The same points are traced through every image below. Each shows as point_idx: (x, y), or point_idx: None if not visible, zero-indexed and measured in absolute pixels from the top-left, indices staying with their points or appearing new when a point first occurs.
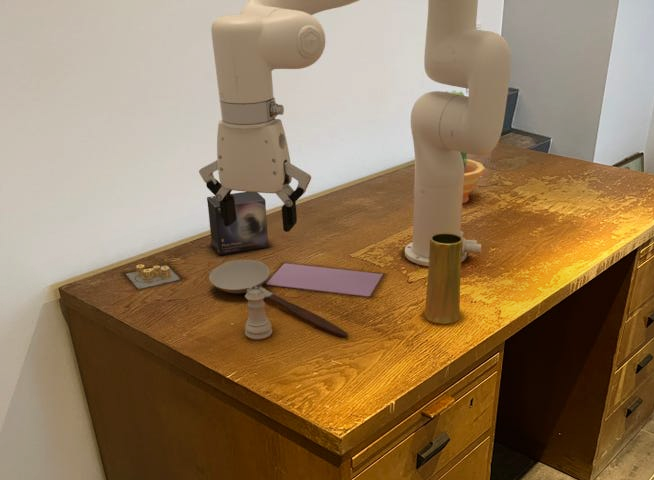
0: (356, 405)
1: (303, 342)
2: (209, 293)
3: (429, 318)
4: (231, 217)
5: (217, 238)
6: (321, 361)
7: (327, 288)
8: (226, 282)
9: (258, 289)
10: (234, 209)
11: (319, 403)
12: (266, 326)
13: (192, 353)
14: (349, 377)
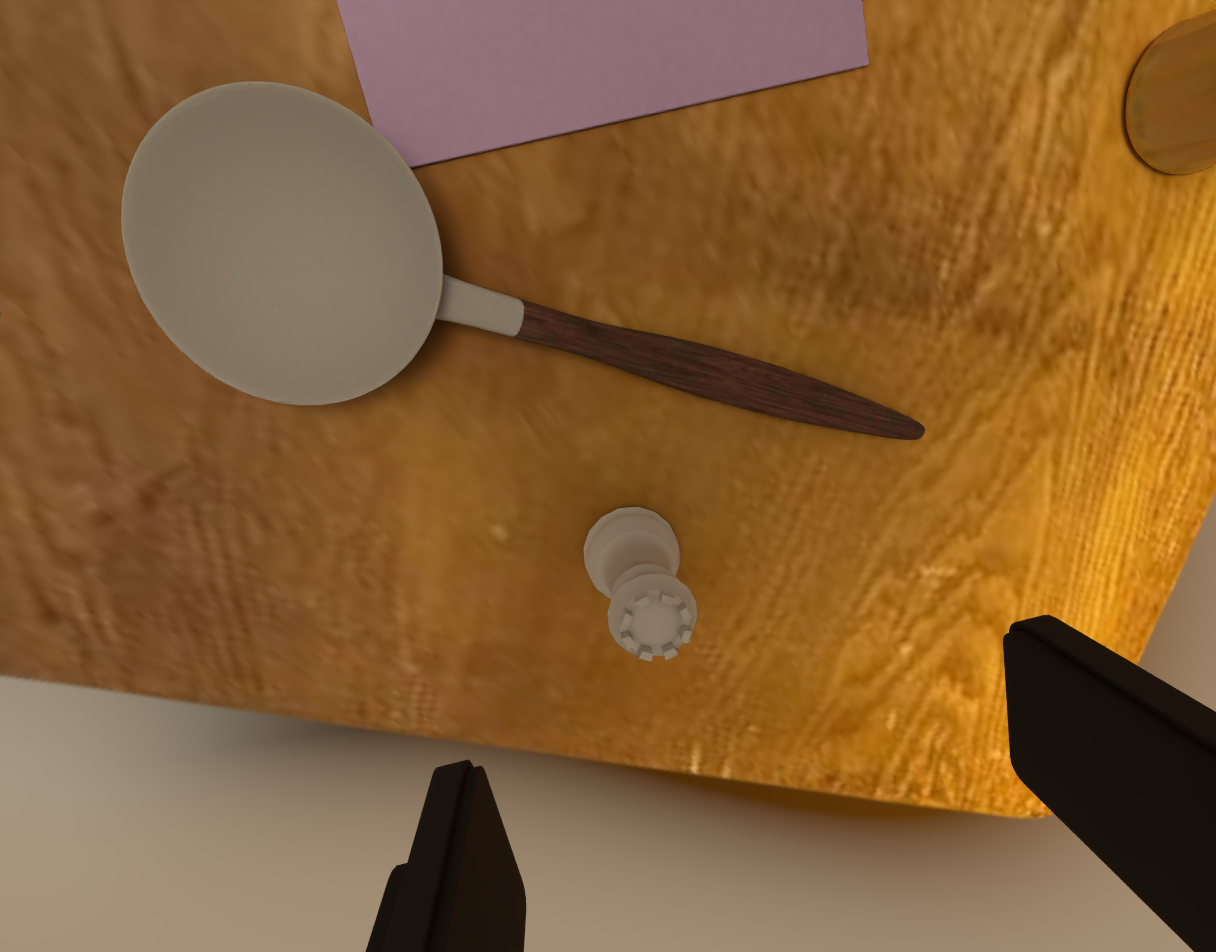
0: None
1: (791, 521)
2: None
3: (1162, 164)
4: (501, 889)
5: None
6: (894, 589)
7: (665, 76)
8: (237, 275)
9: (650, 591)
10: (469, 866)
11: (973, 754)
12: (675, 568)
13: (516, 736)
14: (1002, 621)
